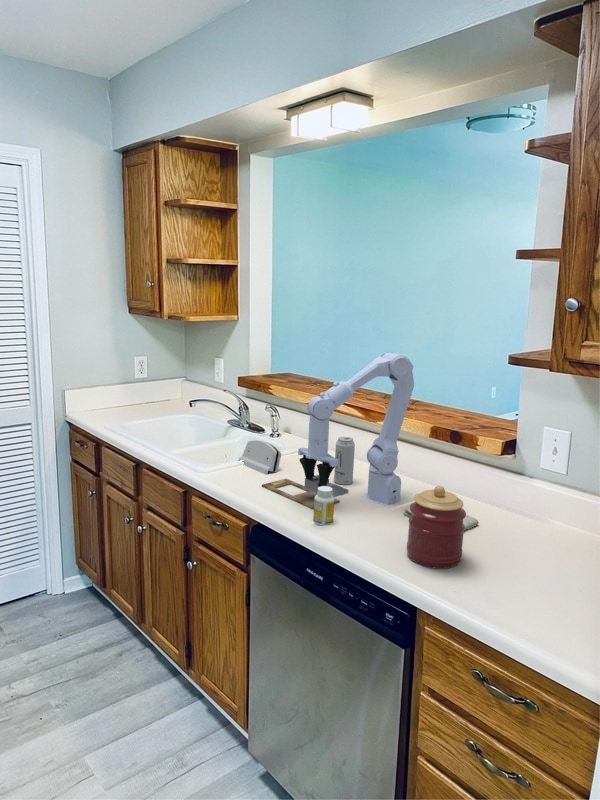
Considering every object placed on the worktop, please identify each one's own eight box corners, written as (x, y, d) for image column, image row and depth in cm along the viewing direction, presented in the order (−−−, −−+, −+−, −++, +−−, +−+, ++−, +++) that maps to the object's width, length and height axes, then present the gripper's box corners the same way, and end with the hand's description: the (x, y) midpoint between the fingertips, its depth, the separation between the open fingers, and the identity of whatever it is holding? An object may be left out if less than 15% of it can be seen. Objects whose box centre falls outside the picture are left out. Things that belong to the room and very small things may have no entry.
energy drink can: (329, 482, 188) (332, 437, 186) (344, 479, 192) (346, 435, 189) (342, 488, 184) (344, 442, 181) (356, 484, 187) (359, 439, 184)
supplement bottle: (313, 526, 154) (314, 491, 152) (313, 518, 159) (314, 484, 157) (333, 526, 154) (335, 492, 152) (332, 518, 159) (334, 485, 157)
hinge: (236, 462, 206) (245, 435, 206) (247, 464, 209) (255, 437, 209) (266, 475, 193) (275, 446, 194) (276, 477, 197) (285, 448, 197)
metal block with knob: (328, 489, 169) (329, 477, 169) (316, 493, 166) (316, 481, 165) (316, 484, 173) (317, 472, 172) (304, 488, 170) (305, 476, 169)
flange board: (339, 504, 170) (339, 499, 170) (314, 512, 163) (315, 507, 163) (285, 482, 187) (286, 477, 187) (261, 488, 181) (261, 483, 180)
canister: (416, 540, 148) (422, 473, 144) (467, 553, 142) (474, 484, 138) (398, 559, 137) (403, 488, 133) (452, 575, 130) (459, 500, 127)
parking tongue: (348, 494, 178) (348, 489, 178) (332, 499, 173) (332, 494, 173) (329, 487, 184) (330, 482, 184) (313, 492, 179) (314, 487, 179)
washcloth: (425, 507, 172) (426, 497, 171) (480, 527, 159) (481, 516, 158) (400, 516, 164) (401, 506, 163) (456, 538, 151) (457, 527, 150)
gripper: (291, 435, 169) (289, 479, 172) (326, 446, 159) (323, 494, 161) (308, 432, 174) (306, 475, 176) (344, 442, 163) (341, 489, 166)
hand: (316, 484), depth 169 cm, fingers closed on metal block with knob, 5 cm apart
